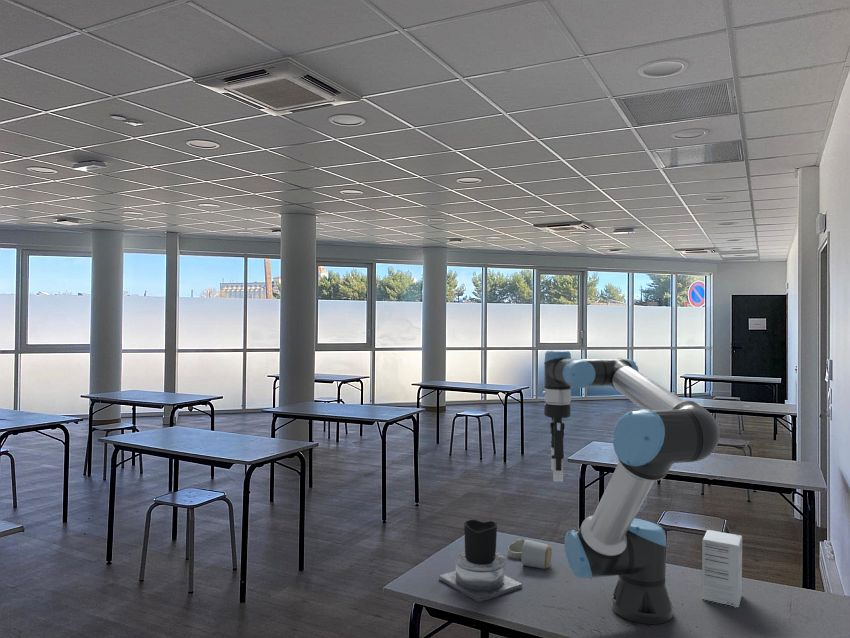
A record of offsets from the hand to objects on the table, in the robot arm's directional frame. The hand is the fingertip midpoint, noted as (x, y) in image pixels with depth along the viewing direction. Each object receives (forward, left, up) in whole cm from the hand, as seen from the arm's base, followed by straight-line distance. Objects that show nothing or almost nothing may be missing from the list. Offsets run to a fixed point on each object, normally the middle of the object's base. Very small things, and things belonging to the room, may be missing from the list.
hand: (556, 475), depth 182 cm
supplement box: (-34, -29, -31) cm, 54 cm away
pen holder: (+11, +20, -24) cm, 33 cm away
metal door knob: (+11, +20, -31) cm, 38 cm away
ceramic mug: (+12, -4, -31) cm, 33 cm away
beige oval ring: (+20, -5, -31) cm, 37 cm away
